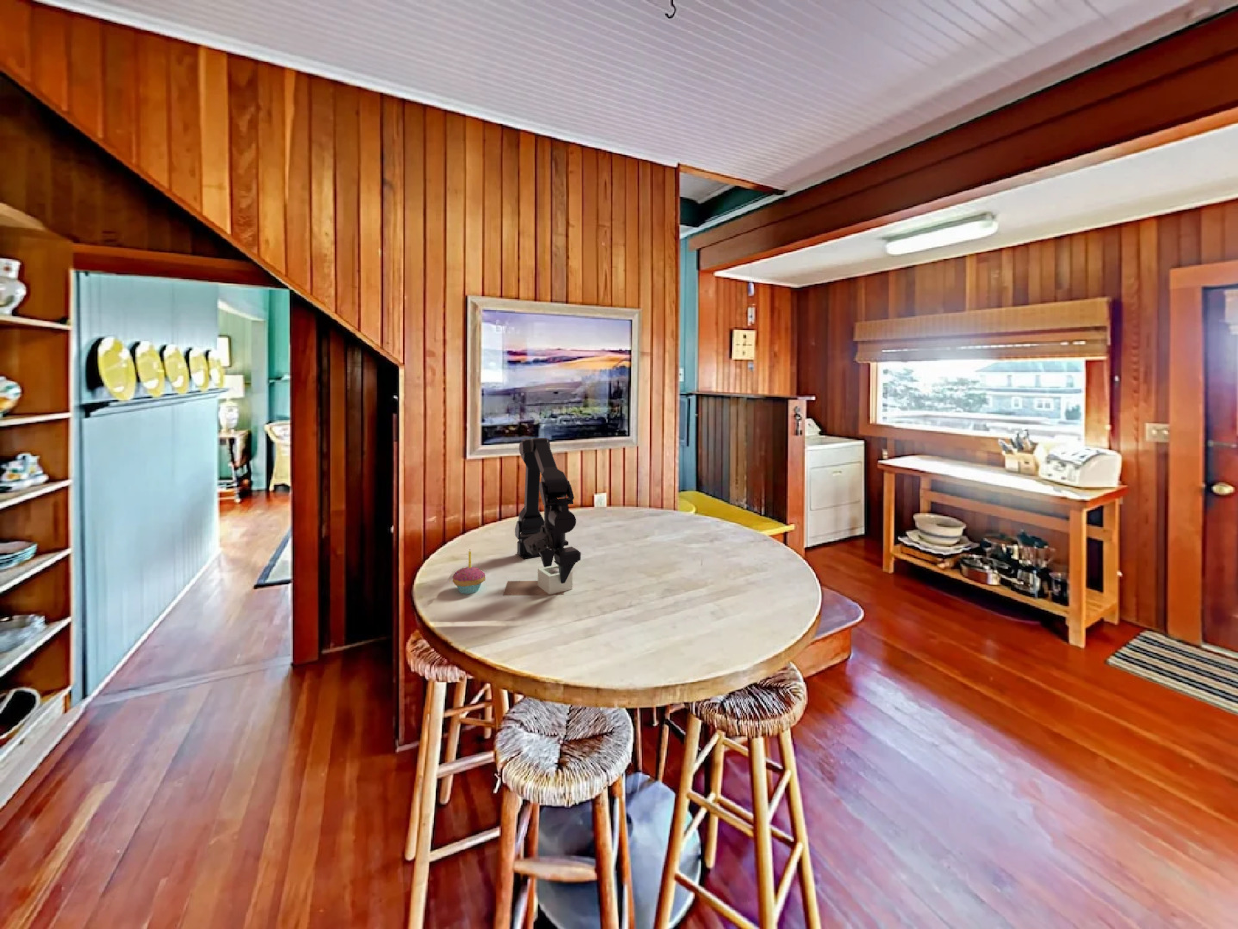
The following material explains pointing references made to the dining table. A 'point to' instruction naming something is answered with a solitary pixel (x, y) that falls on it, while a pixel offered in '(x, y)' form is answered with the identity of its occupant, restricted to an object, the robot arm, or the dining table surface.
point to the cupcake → (468, 578)
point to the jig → (528, 587)
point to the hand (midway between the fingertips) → (555, 577)
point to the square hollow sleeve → (553, 580)
